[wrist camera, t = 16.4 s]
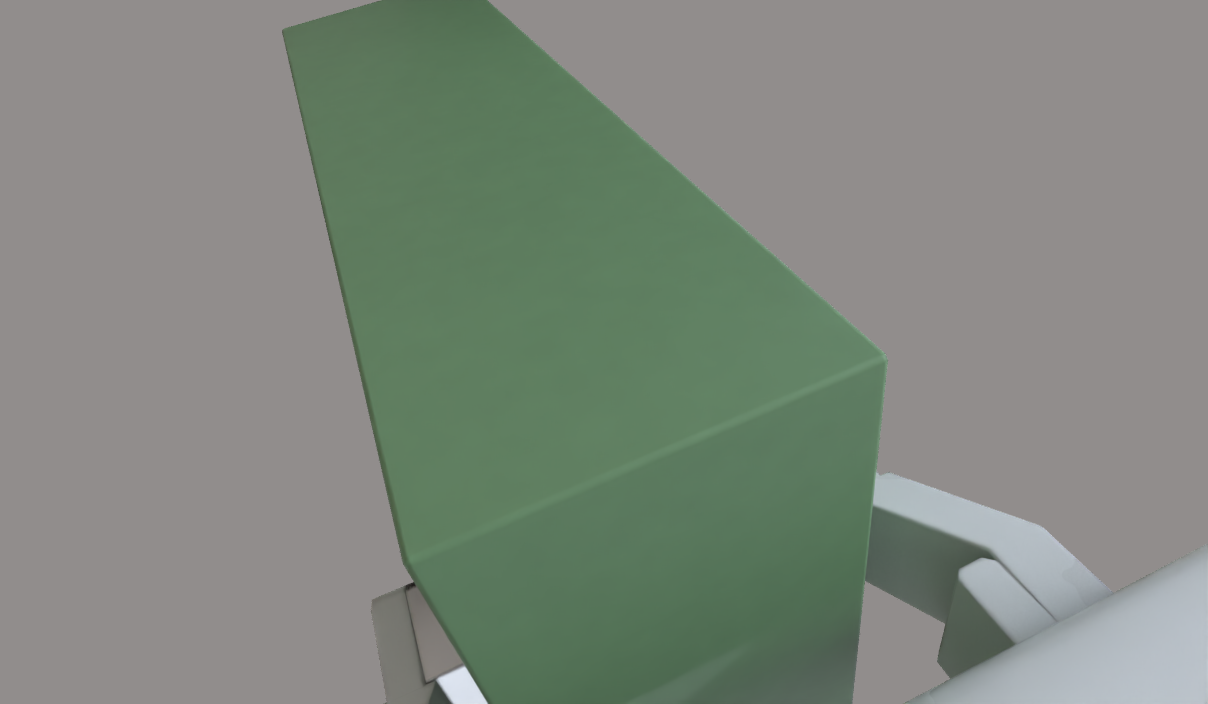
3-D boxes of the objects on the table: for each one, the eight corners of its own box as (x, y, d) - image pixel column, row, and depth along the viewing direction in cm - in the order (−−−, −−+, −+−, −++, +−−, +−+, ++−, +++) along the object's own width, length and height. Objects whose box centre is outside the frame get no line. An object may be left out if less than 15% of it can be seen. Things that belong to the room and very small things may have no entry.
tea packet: (892, 355, 7) (847, 764, 13) (461, -24, 18) (543, 279, 24) (401, 564, 6) (602, 895, 12) (280, 28, 18) (411, 328, 24)
